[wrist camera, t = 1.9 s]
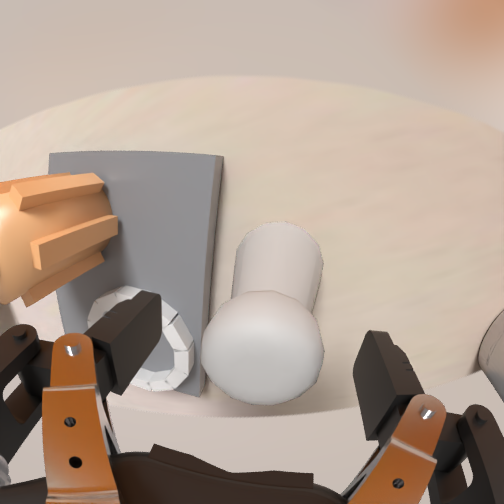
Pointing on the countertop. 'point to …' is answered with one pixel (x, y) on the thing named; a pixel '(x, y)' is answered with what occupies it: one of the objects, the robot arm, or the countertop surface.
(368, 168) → the countertop surface
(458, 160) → the countertop surface
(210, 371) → the salt shaker
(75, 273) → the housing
